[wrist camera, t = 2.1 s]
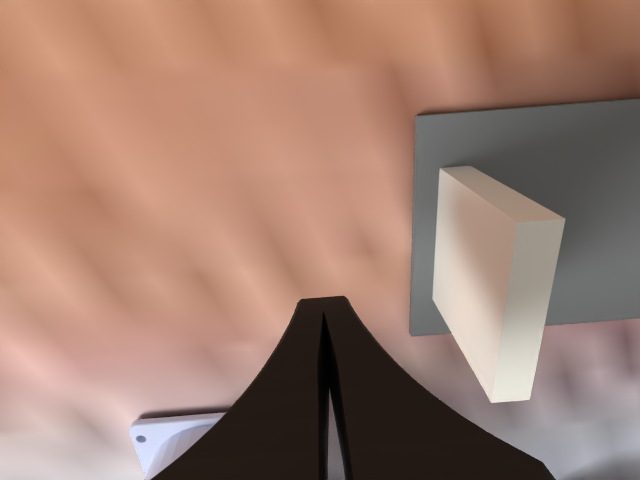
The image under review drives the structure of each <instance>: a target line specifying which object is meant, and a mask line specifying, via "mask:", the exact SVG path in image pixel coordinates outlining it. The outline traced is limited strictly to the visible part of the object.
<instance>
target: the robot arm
mask: <svg viewBox="0 0 640 480" xmlns="http://www.w3.org/2000/svg"><path fill="white" fill-rule="evenodd" d="M329 388H330V393H331V399H332V404H333V410H334V416H335V421H336V427H337V432H338V438H339V443H340V449H341V454H342V460H343V466H344V473H345V480H556V479H555V478H554V477H553V475H552V474H551V473H550V472H549V470H548V469H547V468H546V466H545V465H544V463H543V462H541V461H539V460H538V459H536V458H534V457H532V456H530V455H528V454H526V453H525V452H523V451H521V450H519V449H517V448H515V447H514V446H512V445H510V444H508V443H506V442H504V441H502V440H501V439H499V438H497V437H495V436H493V435H492V434H490V433H488V432H487V431H485V430H483V429H482V428H480V427H479V426H477V425H475V424H474V423H472V422H471V421H469V420H467V419H466V418H464V417H463V416H461V415H460V414H458V413H457V412H456V411H454V410H453V409H451V408H450V407H449V406H447V405H446V404H445V403H443V402H442V401H440V400H439V399H438V398H436V397H435V396H434V395H432V394H431V393H430V392H429V391H427V390H426V389H425V388H424V387H423V386H421V385H420V384H419V383H418V382H417V381H416V380H414V379H413V378H412V377H411V376H410V375H409V374H408V373H407V372H406V371H405V370H403V369H402V368H401V367H400V366H399V365H398V364H397V363H396V362H395V361H394V360H393V359H392V357H391V356H390V355H389V354H388V353H387V352H386V351H385V350H384V349H383V348H382V347H381V345H380V344H379V343H378V342H377V341H376V339H375V338H374V337H373V336H372V334H371V333H370V332H369V331H368V329H367V328H366V327H365V326H364V324H363V323H362V321H361V320H360V319H359V317H358V316H357V314H356V313H355V311H354V309H353V308H352V306H351V304H350V302H349V300H348V299H347V298H346V297H345V296H335V297H322V298H309V299H301V300H300V301H299V302H298V303H297V306H296V309H295V312H294V314H293V316H292V319H291V321H290V323H289V325H288V327H287V329H286V331H285V332H284V334H283V336H282V338H281V340H280V342H279V343H278V345H277V347H276V348H275V350H274V351H273V353H272V355H271V356H270V358H269V359H268V361H267V362H266V364H265V365H264V367H263V368H262V370H261V371H260V372H259V374H258V375H257V377H256V378H255V379H254V381H253V382H252V383H251V384H250V386H249V387H248V388H247V389H246V391H245V392H244V393H243V394H242V395H241V397H240V398H239V399H238V400H237V401H236V402H235V403H234V404H233V406H232V407H231V408H230V409H229V410H228V411H227V412H224V413H212V414H200V415H187V416H175V417H163V418H150V419H139V420H135V421H134V422H133V423H132V424H131V427H130V429H129V433H130V435H131V438H132V441H133V443H134V446H135V449H136V451H137V454H138V457H139V459H140V462H141V465H142V468H143V470H144V473H145V476H146V477H145V479H144V480H328V465H327V464H328V426H329Z"/></svg>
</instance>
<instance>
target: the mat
mask: <svg viewBox="0 0 640 480" xmlns="http://www.w3.org/2000/svg"><path fill="white" fill-rule="evenodd" d="M459 166H472V167H474V168H475V169H477V170H479V171H481V172H482V173H484V174H486V175H488V176H490V177H491V178H493V179H495V180H497V181H499V182H500V183H502V184H504V185H506V186H508V187H509V188H511V189H513V190H515V191H517V192H518V193H520V194H522V195H524V196H525V197H527V198H529V199H531V200H533V201H534V202H536V203H538V204H540V205H542V206H543V207H545V208H547V209H549V210H551V211H552V212H554V213H556V214H558V215H560V216H561V217H563V218H565V224H564V229H563V234H562V239H561V244H560V249H559V254H558V259H557V264H556V270H555V275H554V280H553V285H552V290H551V295H550V300H549V305H548V310H547V315H546V320H545V325H544V326H549V325H562V324H574V323H586V322H599V321H611V320H624V319H636V318H640V98H635V99H622V100H609V101H596V102H583V103H570V104H557V105H544V106H531V107H518V108H505V109H492V110H479V111H466V112H453V113H440V114H426V115H416V117H415V152H414V187H413V222H412V257H411V293H410V328H409V332H410V334H411V337H412V336H424V335H437V334H449V333H451V331H450V329H449V327H448V326H447V324H446V322H445V320H444V319H443V317H442V315H441V313H440V311H439V310H438V308H437V306H436V304H435V303H434V301H433V299H432V297H433V279H434V261H435V243H436V225H437V207H438V189H439V171H440V168H446V167H459Z"/></svg>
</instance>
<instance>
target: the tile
mask: <svg viewBox="0 0 640 480" xmlns="http://www.w3.org/2000/svg"><path fill="white" fill-rule="evenodd" d="M564 224H565V218H563V217H561V216H560V215H558V214H556V213H554V212H552V211H551V210H549V209H547V208H545V207H543V206H542V205H540V204H538V203H536V202H534V201H533V200H531V199H529V198H527V197H525V196H524V195H522V194H520V193H518V192H517V191H515V190H513V189H511V188H509V187H508V186H506V185H504V184H502V183H500V182H499V181H497V180H495V179H493V178H491V177H490V176H488V175H486V174H484V173H482V172H481V171H479V170H477V169H475V168H474V167H472V166H459V167H446V168H440V171H439V189H438V207H437V225H436V243H435V261H434V279H433V297H432V299H433V301H434V303H435V304H436V306H437V308H438V310H439V311H440V313H441V315H442V317H443V319H444V320H445V322H446V324H447V326H448V327H449V329H450V331H451V333H452V334H453V336H454V338H455V340H456V341H457V343H458V345H459V347H460V349H461V350H462V352H463V354H464V356H465V357H466V359H467V361H468V363H469V364H470V366H471V368H472V370H473V371H474V373H475V375H476V377H477V379H478V380H479V382H480V384H481V386H482V387H483V389H484V391H485V393H486V394H487V396H488V398H489V400H490V401H491V403H497V402H509V401H522V400H530V396H531V391H532V386H533V381H534V376H535V371H536V366H537V361H538V356H539V351H540V345H541V340H542V335H543V330H544V325H545V320H546V315H547V310H548V305H549V300H550V295H551V290H552V285H553V280H554V275H555V270H556V264H557V259H558V254H559V249H560V244H561V239H562V234H563V229H564Z"/></svg>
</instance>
